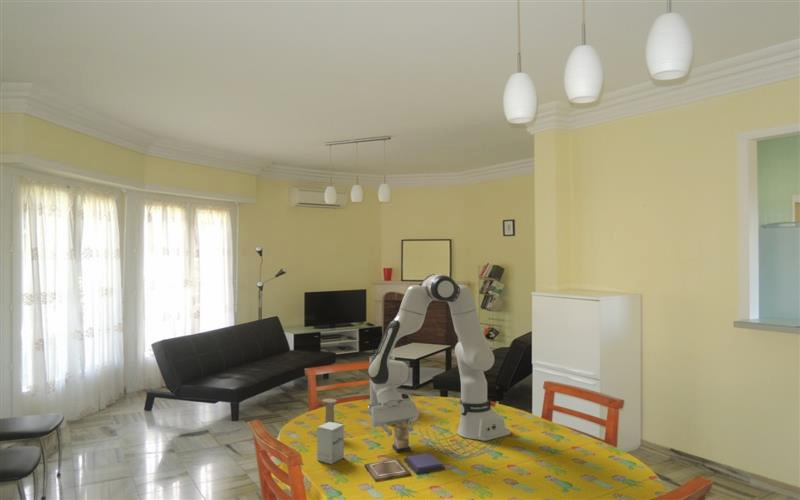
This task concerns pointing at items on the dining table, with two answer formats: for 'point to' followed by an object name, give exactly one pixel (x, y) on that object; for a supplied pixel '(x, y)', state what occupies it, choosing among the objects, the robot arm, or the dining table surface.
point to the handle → (329, 409)
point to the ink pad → (424, 463)
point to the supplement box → (330, 442)
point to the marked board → (387, 469)
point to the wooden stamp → (401, 438)
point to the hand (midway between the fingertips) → (401, 432)
